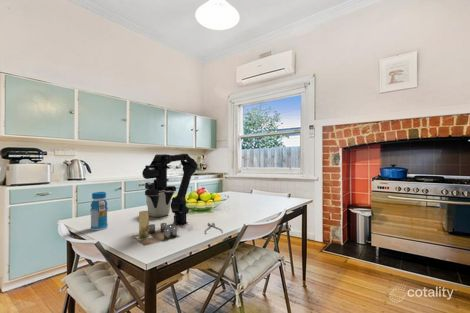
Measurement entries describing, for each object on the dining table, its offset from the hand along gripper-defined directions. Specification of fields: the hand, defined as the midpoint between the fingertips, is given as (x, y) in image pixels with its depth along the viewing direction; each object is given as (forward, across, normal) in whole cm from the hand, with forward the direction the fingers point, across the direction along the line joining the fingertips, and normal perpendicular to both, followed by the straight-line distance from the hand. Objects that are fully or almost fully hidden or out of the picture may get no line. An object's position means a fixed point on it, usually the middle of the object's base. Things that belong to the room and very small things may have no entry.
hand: (161, 206), depth 126 cm
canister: (+13, -27, -24) cm, 38 cm away
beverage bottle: (+13, +9, -36) cm, 39 cm away
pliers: (+14, -13, +23) cm, 29 cm away
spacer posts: (+12, +8, +7) cm, 16 cm away
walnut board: (+13, +11, +6) cm, 18 cm away
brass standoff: (+12, +14, +2) cm, 19 cm away
